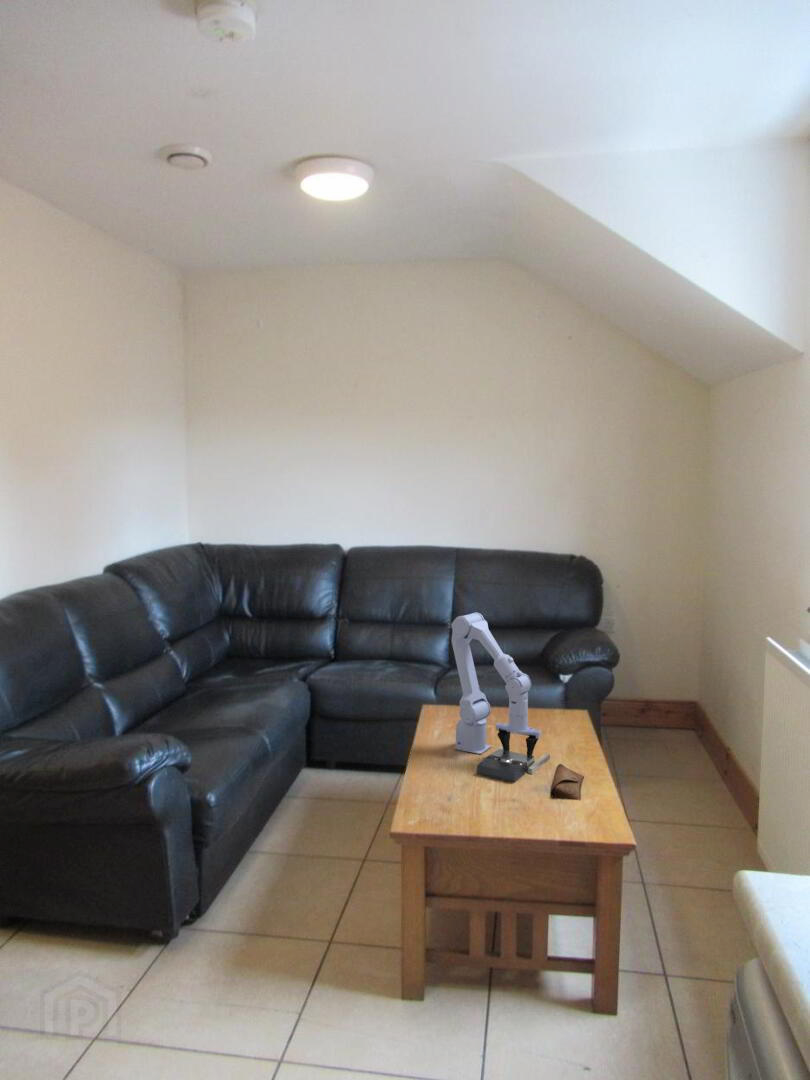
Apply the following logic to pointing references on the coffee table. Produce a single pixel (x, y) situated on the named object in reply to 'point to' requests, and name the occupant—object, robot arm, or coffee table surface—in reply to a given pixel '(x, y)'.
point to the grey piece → (514, 757)
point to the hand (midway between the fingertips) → (518, 756)
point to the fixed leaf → (501, 769)
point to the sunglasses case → (566, 784)
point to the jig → (537, 764)
